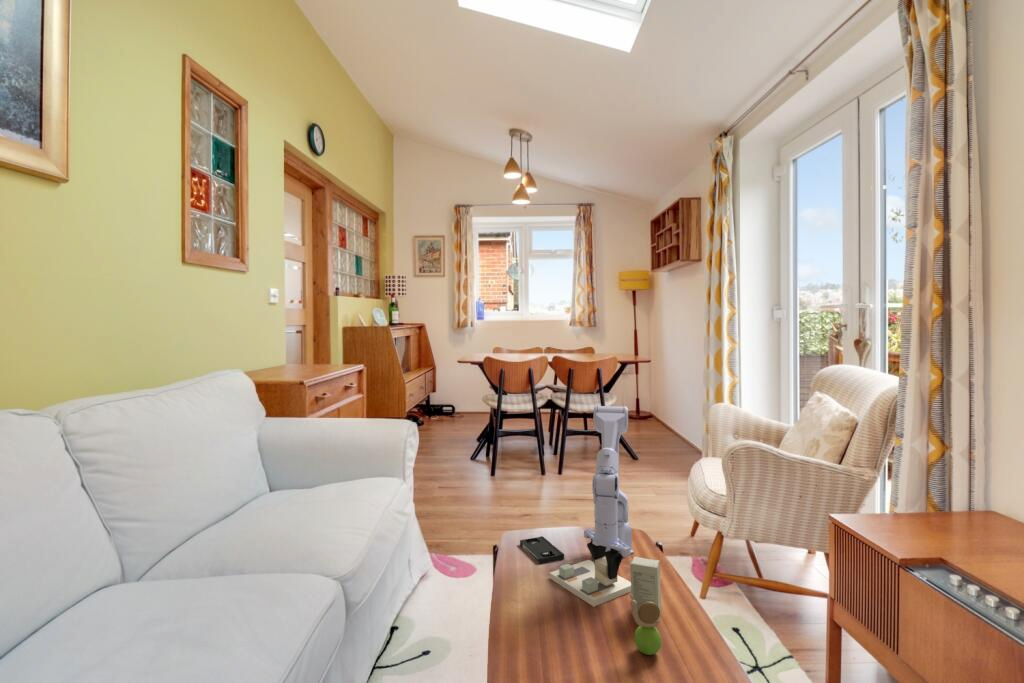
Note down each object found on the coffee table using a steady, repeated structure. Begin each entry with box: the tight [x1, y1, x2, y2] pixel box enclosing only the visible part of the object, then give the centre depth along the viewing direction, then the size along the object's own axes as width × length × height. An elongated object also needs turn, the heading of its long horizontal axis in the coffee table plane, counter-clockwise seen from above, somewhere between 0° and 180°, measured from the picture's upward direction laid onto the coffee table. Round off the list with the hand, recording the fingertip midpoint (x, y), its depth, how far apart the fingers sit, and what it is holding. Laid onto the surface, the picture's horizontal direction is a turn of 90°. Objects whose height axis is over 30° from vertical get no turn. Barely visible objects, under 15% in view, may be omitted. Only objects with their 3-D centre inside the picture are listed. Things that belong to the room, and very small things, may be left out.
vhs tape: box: [519, 536, 565, 565], centre depth 149 cm, size 14×8×2 cm, turn 23°
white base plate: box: [549, 559, 631, 608], centre depth 130 cm, size 14×17×2 cm
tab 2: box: [582, 577, 598, 593], centre depth 124 cm, size 3×2×2 cm
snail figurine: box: [629, 593, 663, 656], centre depth 102 cm, size 5×6×12 cm
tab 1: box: [558, 563, 574, 579], centre depth 131 cm, size 3×2×2 cm
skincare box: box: [629, 556, 662, 620], centre depth 116 cm, size 6×4×12 cm
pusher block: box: [595, 557, 617, 586], centre depth 127 cm, size 4×4×5 cm
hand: (606, 574), depth 127 cm, fingers closed on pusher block, 4 cm apart
